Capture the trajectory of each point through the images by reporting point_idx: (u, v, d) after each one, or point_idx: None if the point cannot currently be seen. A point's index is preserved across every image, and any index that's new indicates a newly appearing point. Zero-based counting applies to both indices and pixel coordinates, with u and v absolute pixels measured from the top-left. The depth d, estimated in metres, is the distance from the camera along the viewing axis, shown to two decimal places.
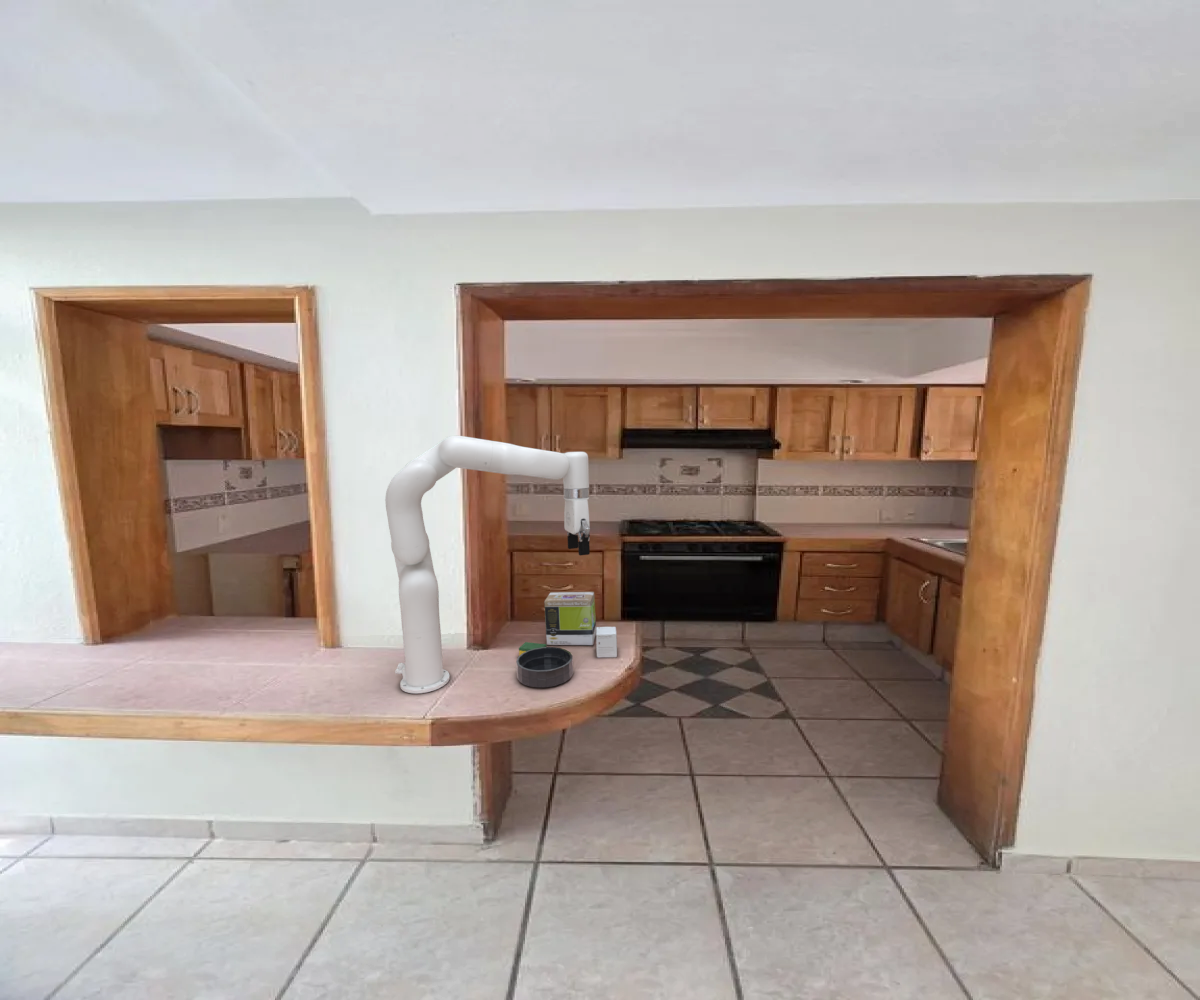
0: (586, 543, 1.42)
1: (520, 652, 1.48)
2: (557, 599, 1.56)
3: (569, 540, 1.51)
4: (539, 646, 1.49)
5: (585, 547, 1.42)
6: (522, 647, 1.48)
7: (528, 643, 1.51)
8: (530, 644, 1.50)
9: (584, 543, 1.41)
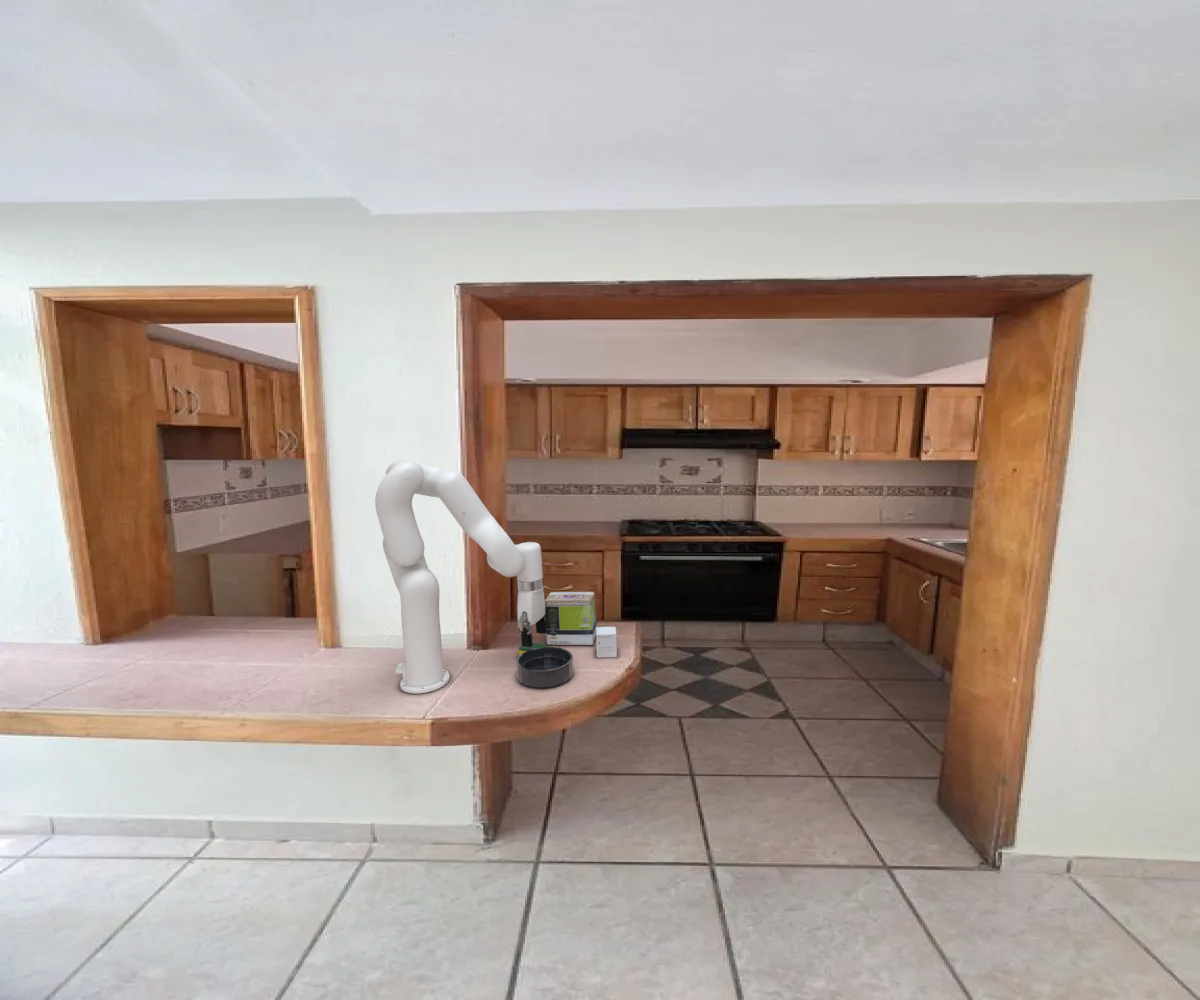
0: (526, 636, 1.43)
1: (520, 652, 1.48)
2: (557, 599, 1.56)
3: (536, 625, 1.53)
4: (539, 646, 1.49)
5: (525, 640, 1.43)
6: (522, 647, 1.48)
7: None
8: None
9: (524, 636, 1.43)
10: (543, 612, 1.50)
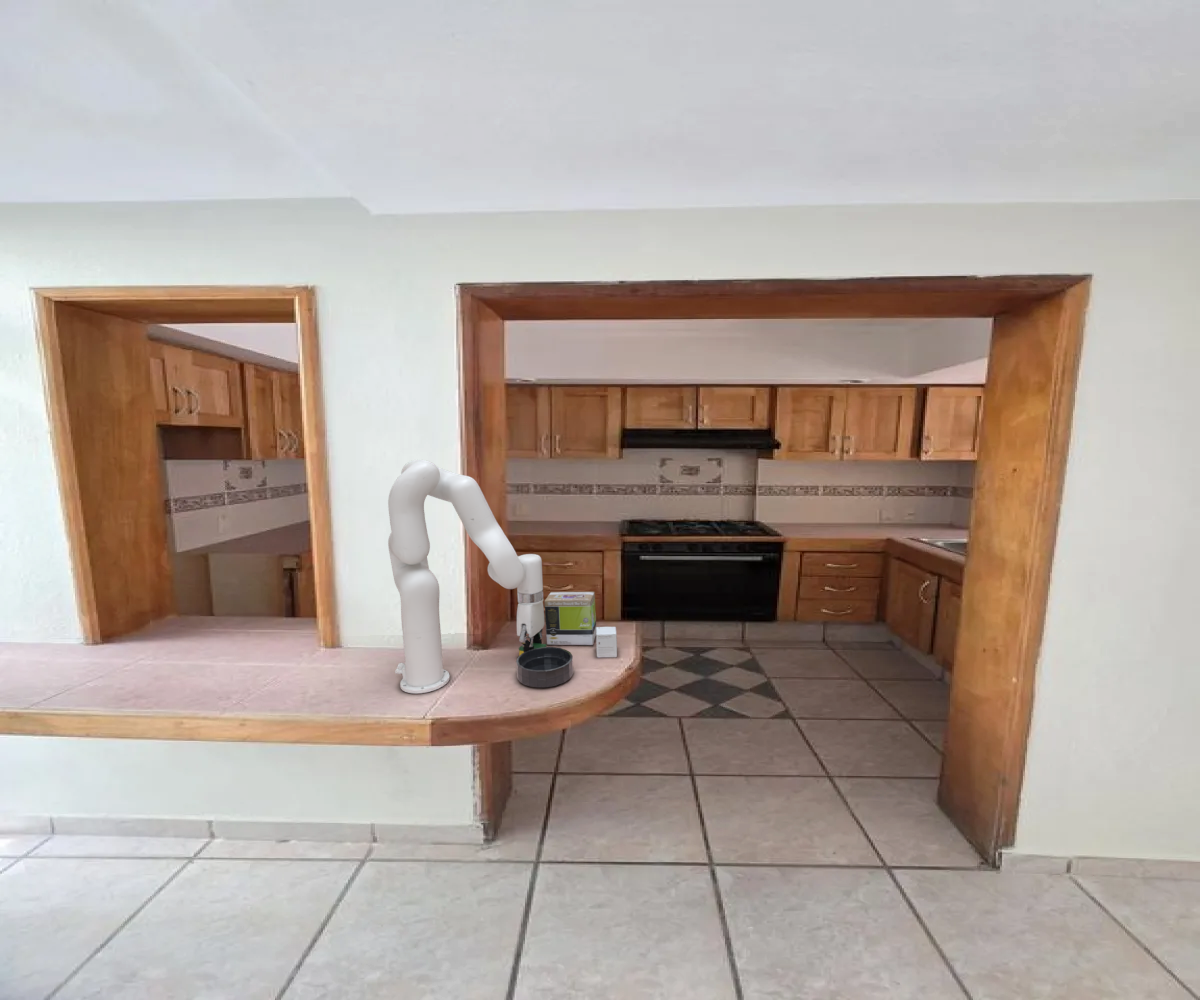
0: (528, 649, 1.45)
1: (520, 652, 1.48)
2: (557, 599, 1.56)
3: (532, 643, 1.52)
4: (539, 646, 1.49)
5: None
6: (522, 647, 1.48)
7: None
8: None
9: (526, 648, 1.46)
10: (542, 625, 1.50)
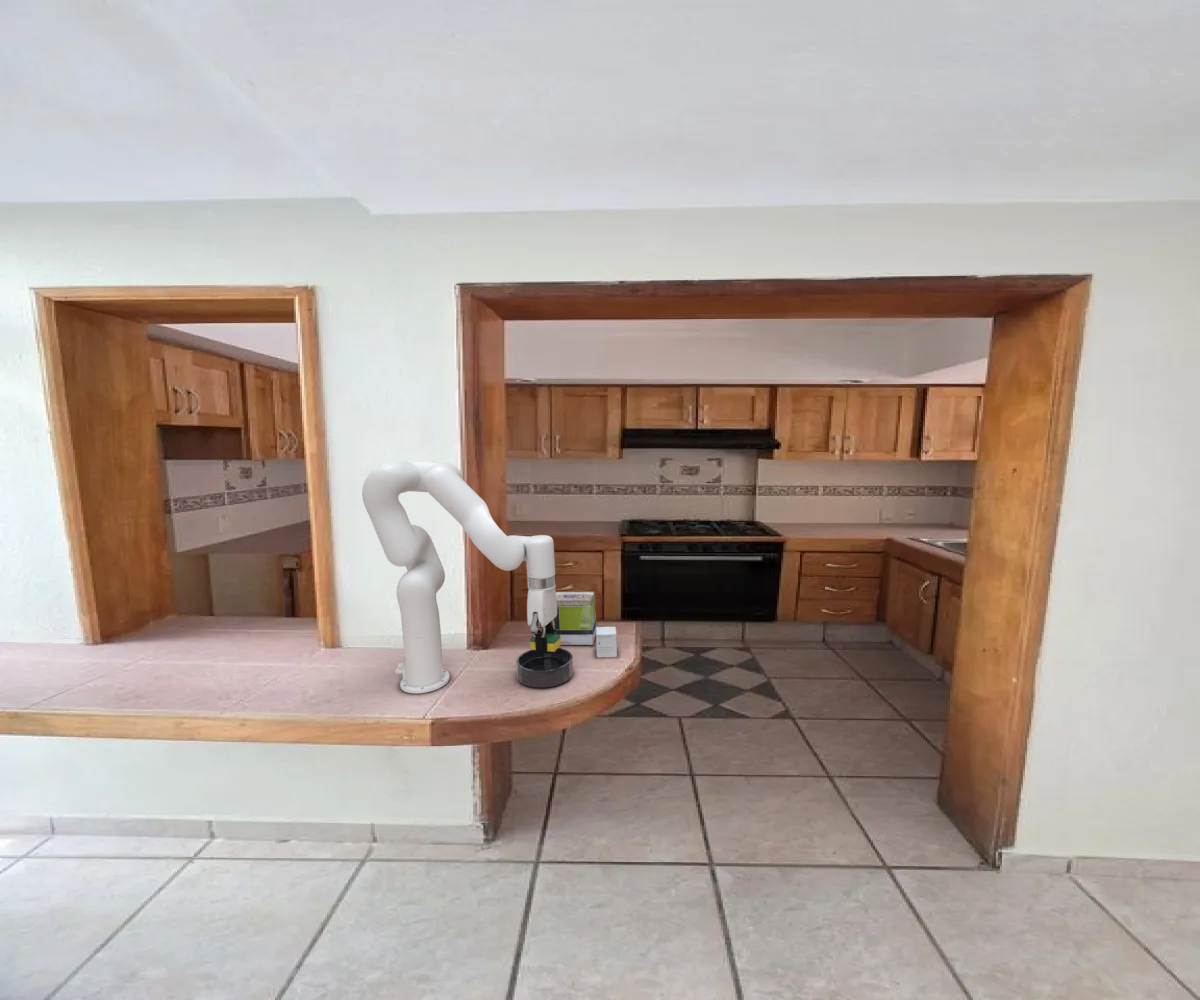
0: (540, 640, 1.31)
1: (531, 644, 1.34)
2: (557, 599, 1.56)
3: (544, 633, 1.38)
4: (552, 637, 1.34)
5: (540, 643, 1.32)
6: (533, 638, 1.34)
7: None
8: None
9: (538, 639, 1.32)
10: (554, 613, 1.36)
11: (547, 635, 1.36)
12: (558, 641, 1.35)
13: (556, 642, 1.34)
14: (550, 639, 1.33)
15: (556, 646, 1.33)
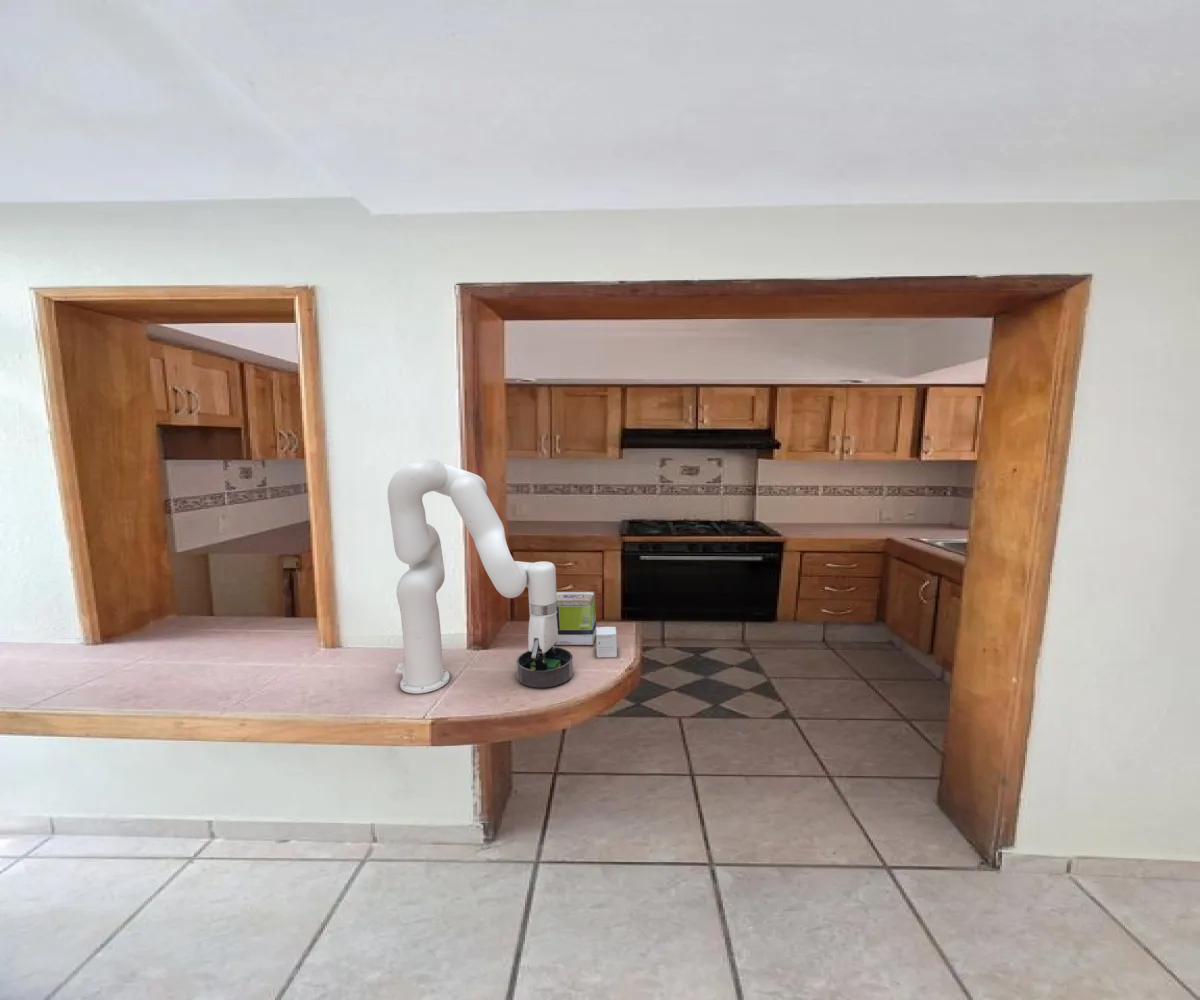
0: (541, 665, 1.33)
1: (532, 669, 1.35)
2: (557, 599, 1.56)
3: None
4: (553, 662, 1.36)
5: (540, 669, 1.33)
6: (534, 663, 1.35)
7: None
8: None
9: (539, 665, 1.33)
10: (555, 639, 1.37)
11: (547, 660, 1.37)
12: (558, 666, 1.36)
13: None
14: (550, 665, 1.34)
15: None
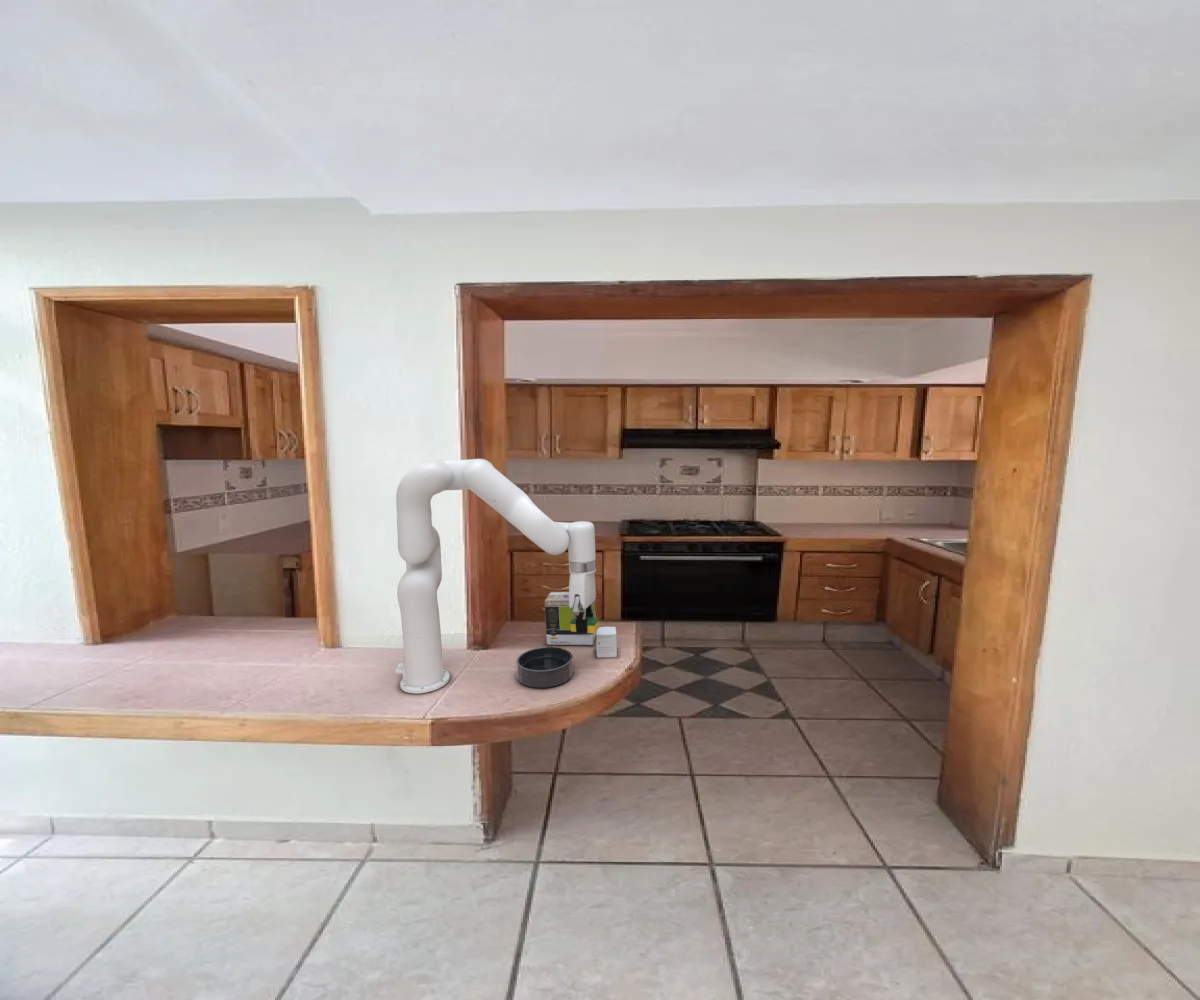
0: (581, 621, 1.36)
1: (572, 626, 1.39)
2: (557, 599, 1.56)
3: None
4: (592, 619, 1.40)
5: (580, 625, 1.37)
6: (574, 620, 1.39)
7: None
8: None
9: (579, 621, 1.37)
10: (594, 597, 1.41)
11: (586, 618, 1.41)
12: (597, 623, 1.40)
13: (596, 624, 1.39)
14: (590, 621, 1.38)
15: (596, 628, 1.39)
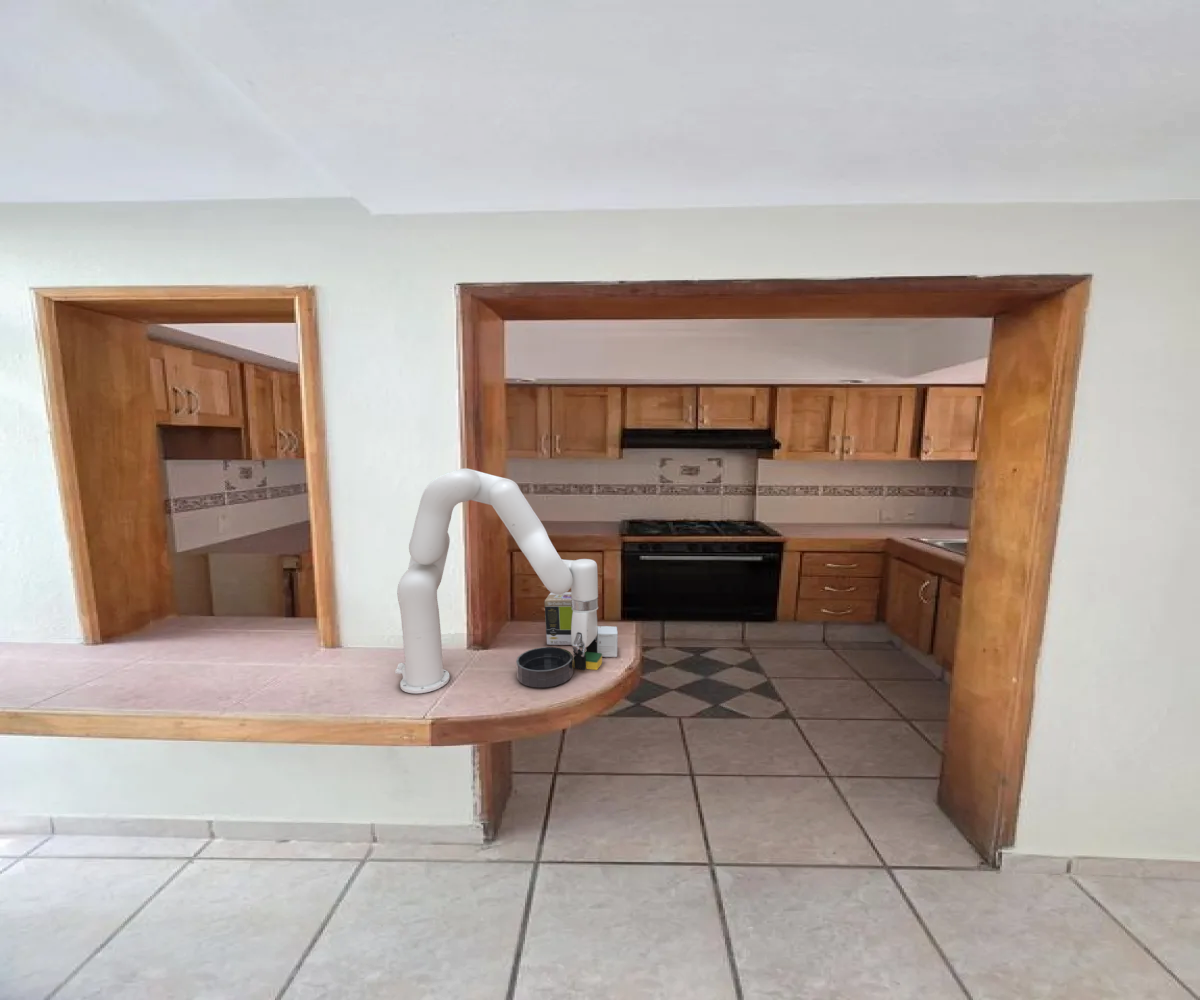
0: (580, 658, 1.36)
1: None
2: (557, 599, 1.56)
3: None
4: (595, 655, 1.41)
5: (579, 662, 1.36)
6: None
7: None
8: None
9: (578, 658, 1.36)
10: (595, 633, 1.43)
11: (589, 653, 1.42)
12: (600, 659, 1.41)
13: (599, 661, 1.40)
14: (593, 658, 1.40)
15: (598, 664, 1.40)
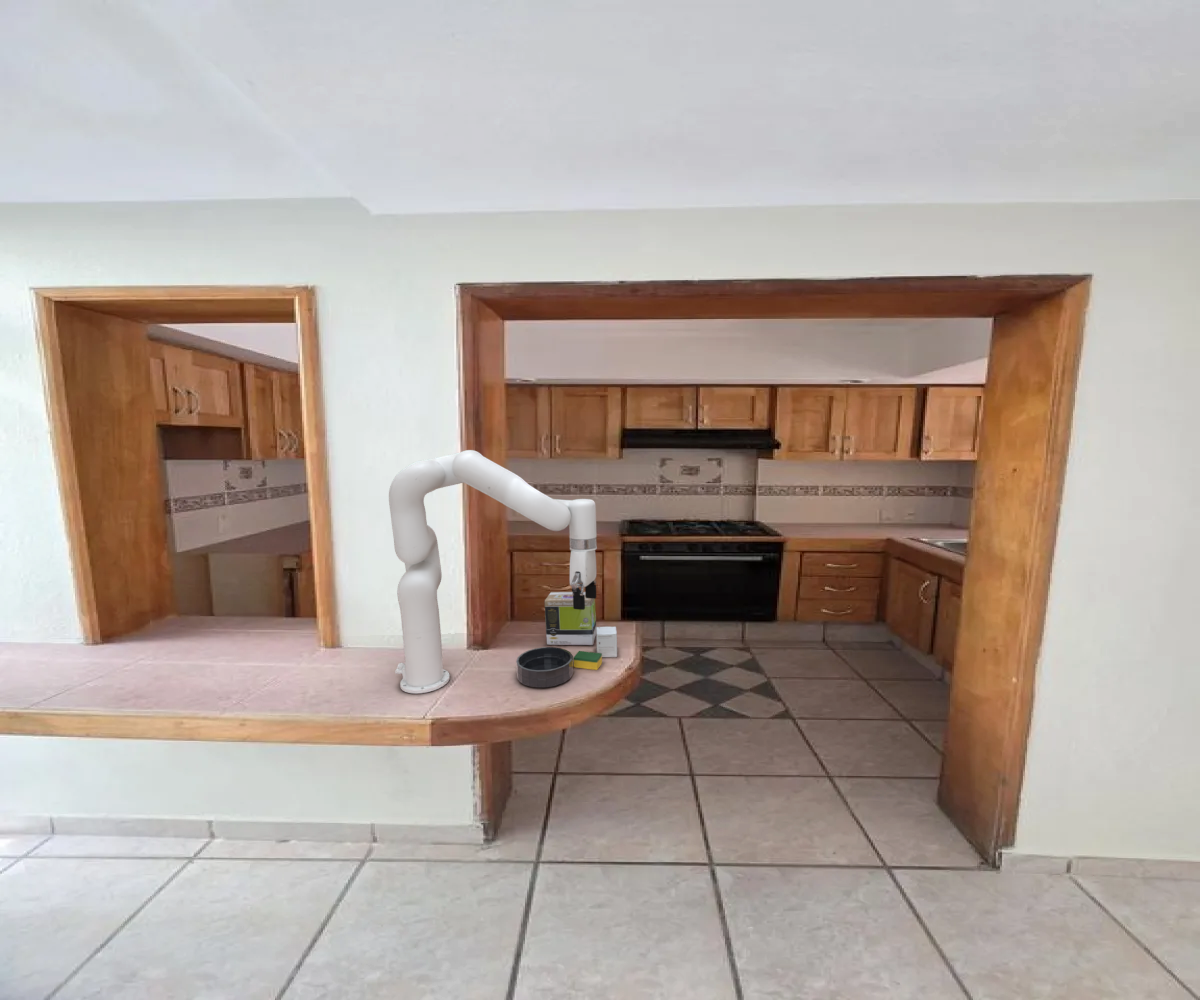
0: (579, 598, 1.34)
1: (575, 662, 1.40)
2: (557, 599, 1.56)
3: (586, 589, 1.44)
4: (595, 655, 1.41)
5: (578, 601, 1.34)
6: (577, 656, 1.41)
7: (582, 652, 1.44)
8: (584, 653, 1.43)
9: (577, 597, 1.34)
10: (594, 575, 1.41)
11: (589, 653, 1.42)
12: (600, 659, 1.41)
13: (599, 661, 1.40)
14: (593, 658, 1.40)
15: (598, 664, 1.40)
